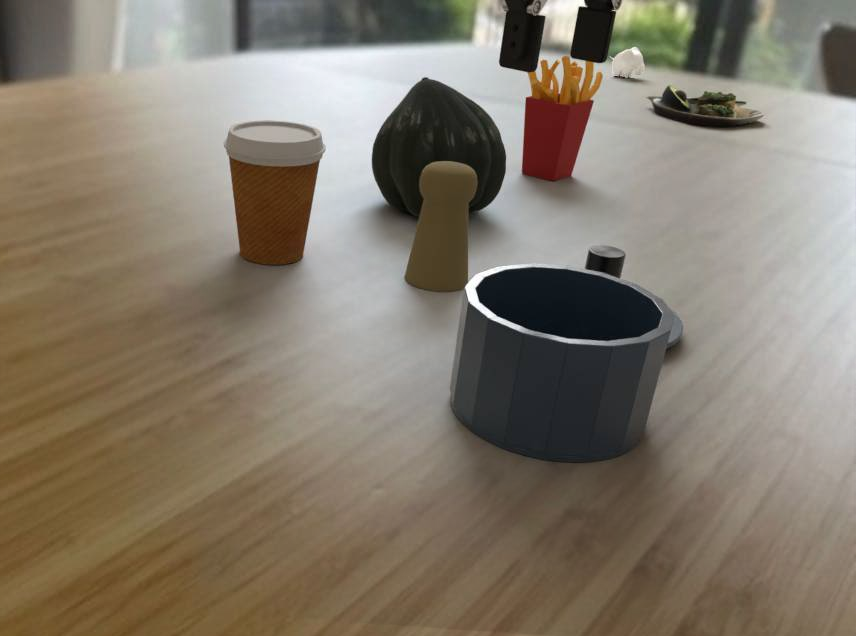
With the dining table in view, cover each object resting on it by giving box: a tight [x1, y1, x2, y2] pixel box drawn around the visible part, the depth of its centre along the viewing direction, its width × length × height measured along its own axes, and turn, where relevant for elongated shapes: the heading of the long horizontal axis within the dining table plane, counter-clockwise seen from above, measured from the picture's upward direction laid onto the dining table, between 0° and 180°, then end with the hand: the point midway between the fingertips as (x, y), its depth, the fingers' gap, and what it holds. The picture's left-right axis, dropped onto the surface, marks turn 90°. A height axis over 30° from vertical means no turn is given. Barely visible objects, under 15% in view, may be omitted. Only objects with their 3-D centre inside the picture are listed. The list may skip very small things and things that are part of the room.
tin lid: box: [584, 244, 684, 350], centre depth 77 cm, size 15×15×7 cm
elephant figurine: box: [609, 46, 646, 79], centre depth 193 cm, size 7×8×6 cm
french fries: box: [521, 55, 603, 182], centre depth 119 cm, size 9×8×15 cm
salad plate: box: [645, 84, 764, 128], centre depth 161 cm, size 19×18×5 cm
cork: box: [404, 161, 478, 293], centre depth 83 cm, size 6×6×11 cm
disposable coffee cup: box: [223, 120, 327, 266], centre depth 87 cm, size 10×10×12 cm
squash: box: [371, 76, 507, 218], centre depth 102 cm, size 14×15×15 cm
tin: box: [449, 262, 675, 463], centre depth 63 cm, size 14×14×8 cm
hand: (553, 64), depth 72 cm, fingers open, 9 cm apart
